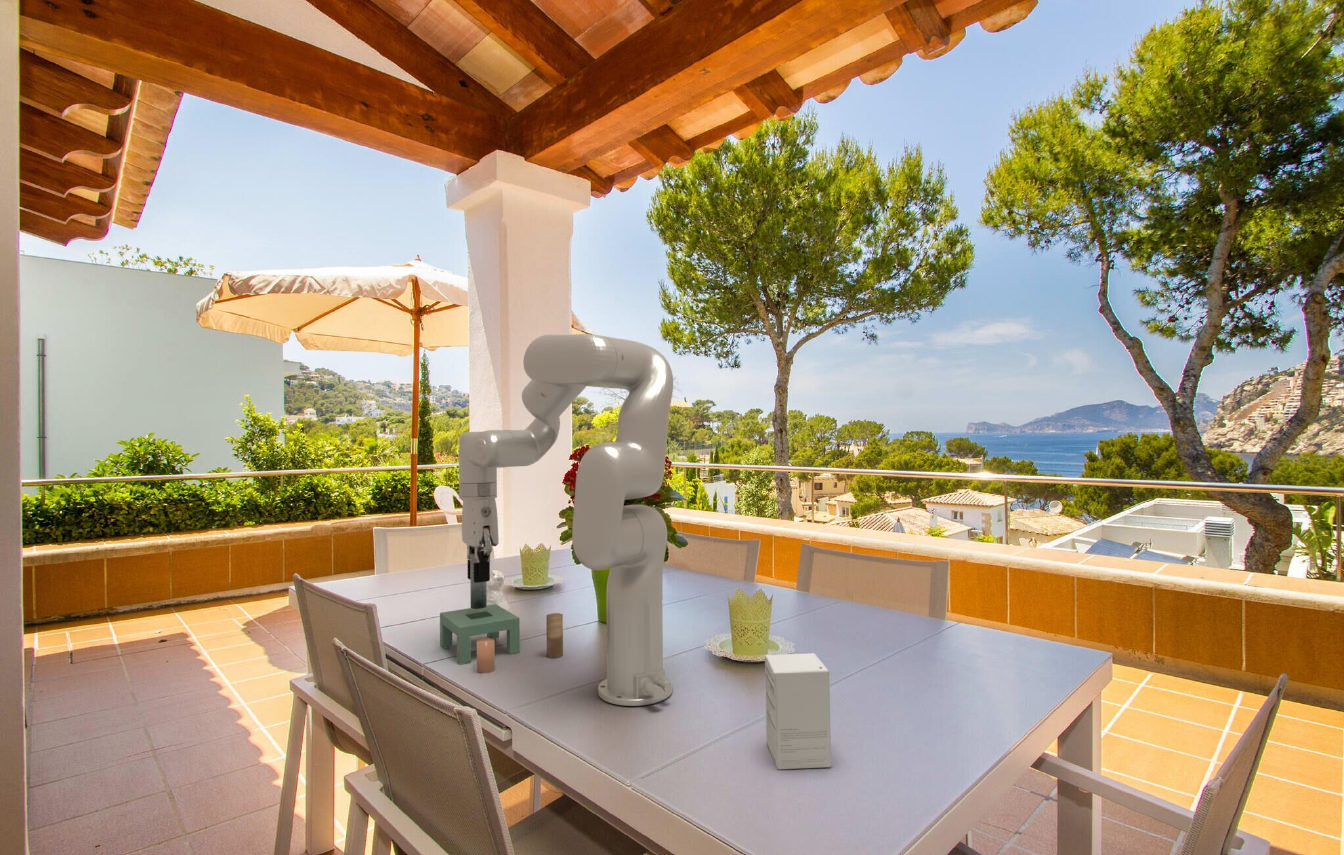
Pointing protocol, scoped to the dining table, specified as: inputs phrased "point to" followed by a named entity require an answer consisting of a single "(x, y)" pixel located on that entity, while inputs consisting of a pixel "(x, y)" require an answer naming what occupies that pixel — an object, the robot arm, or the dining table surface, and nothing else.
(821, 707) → the supplement box
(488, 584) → the white creature statuette
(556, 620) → the medium pin
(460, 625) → the hole bridge
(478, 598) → the long pin
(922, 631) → the dining table surface
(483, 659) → the short pin
